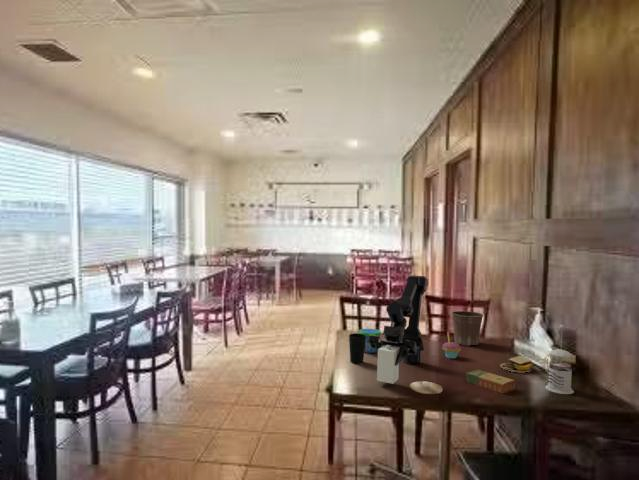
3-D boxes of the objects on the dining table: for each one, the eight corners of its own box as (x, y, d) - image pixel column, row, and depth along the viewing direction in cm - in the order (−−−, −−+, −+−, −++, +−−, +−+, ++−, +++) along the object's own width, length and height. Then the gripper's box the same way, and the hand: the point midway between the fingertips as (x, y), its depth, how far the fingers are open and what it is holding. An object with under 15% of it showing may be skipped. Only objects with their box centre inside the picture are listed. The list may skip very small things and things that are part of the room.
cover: (382, 375, 177) (383, 342, 177) (398, 378, 174) (399, 344, 174) (376, 380, 171) (377, 346, 171) (393, 383, 168) (394, 348, 168)
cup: (364, 365, 197) (365, 338, 196) (347, 363, 198) (347, 336, 198) (366, 360, 204) (366, 334, 204) (349, 359, 206) (350, 332, 205)
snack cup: (357, 347, 227) (357, 326, 227) (378, 347, 227) (378, 327, 227) (360, 355, 212) (360, 334, 211) (382, 356, 212) (383, 334, 211)
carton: (502, 395, 166) (503, 383, 166) (465, 382, 179) (465, 372, 179) (515, 390, 171) (515, 379, 171) (477, 378, 184) (478, 368, 184)
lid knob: (427, 385, 172) (427, 381, 171) (431, 387, 169) (431, 383, 169) (421, 386, 171) (421, 381, 170) (425, 388, 168) (425, 384, 168)
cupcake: (440, 358, 211) (441, 332, 211) (443, 353, 219) (443, 329, 219) (459, 360, 208) (460, 334, 208) (461, 356, 216) (462, 331, 215)
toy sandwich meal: (494, 366, 202) (494, 355, 201) (520, 364, 205) (520, 354, 205) (511, 375, 189) (512, 363, 189) (539, 373, 192) (540, 362, 192)
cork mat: (429, 381, 178) (429, 380, 178) (449, 392, 167) (449, 390, 167) (403, 384, 173) (403, 383, 173) (422, 395, 162) (422, 394, 162)
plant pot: (445, 339, 248) (446, 310, 247) (473, 339, 249) (474, 310, 249) (458, 347, 231) (459, 316, 231) (488, 347, 233) (489, 316, 233)
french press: (561, 395, 166) (564, 328, 166) (535, 385, 177) (537, 321, 176) (580, 392, 170) (582, 326, 170) (553, 382, 181) (555, 320, 180)
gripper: (370, 314, 180) (358, 348, 170) (416, 320, 171) (406, 356, 162) (376, 330, 187) (366, 363, 178) (421, 336, 178) (412, 371, 169)
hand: (387, 363), depth 171 cm, fingers closed on cover, 6 cm apart
